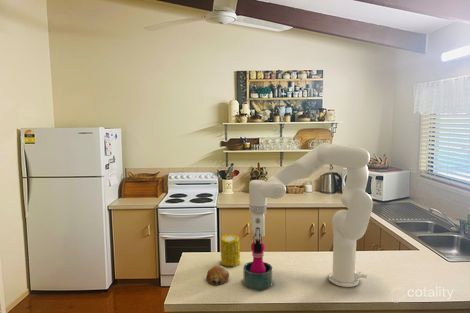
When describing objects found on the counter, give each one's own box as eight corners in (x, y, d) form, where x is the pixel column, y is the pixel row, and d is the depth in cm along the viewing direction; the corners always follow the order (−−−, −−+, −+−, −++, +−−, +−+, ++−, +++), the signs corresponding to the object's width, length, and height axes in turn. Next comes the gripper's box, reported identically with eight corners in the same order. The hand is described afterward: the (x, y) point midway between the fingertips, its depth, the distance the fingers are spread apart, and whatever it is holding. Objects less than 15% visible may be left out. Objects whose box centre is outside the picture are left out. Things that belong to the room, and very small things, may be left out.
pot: (271, 276, 146) (271, 261, 146) (272, 290, 134) (272, 274, 133) (244, 275, 148) (244, 260, 147) (242, 289, 135) (242, 273, 134)
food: (239, 262, 165) (236, 272, 155) (218, 256, 166) (213, 265, 156) (246, 235, 162) (243, 243, 152) (224, 229, 163) (219, 237, 153)
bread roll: (231, 287, 144) (234, 268, 146) (219, 286, 135) (223, 267, 138) (212, 281, 149) (216, 264, 151) (200, 281, 140) (205, 262, 143)
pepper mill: (256, 276, 146) (256, 233, 144) (269, 281, 141) (269, 237, 139) (246, 282, 140) (246, 238, 138) (259, 287, 136) (260, 242, 133)
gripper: (267, 214, 128) (266, 257, 130) (266, 203, 145) (266, 242, 147) (248, 214, 129) (248, 257, 131) (250, 203, 146) (250, 241, 148)
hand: (257, 248), depth 139 cm, fingers closed on pepper mill, 6 cm apart
